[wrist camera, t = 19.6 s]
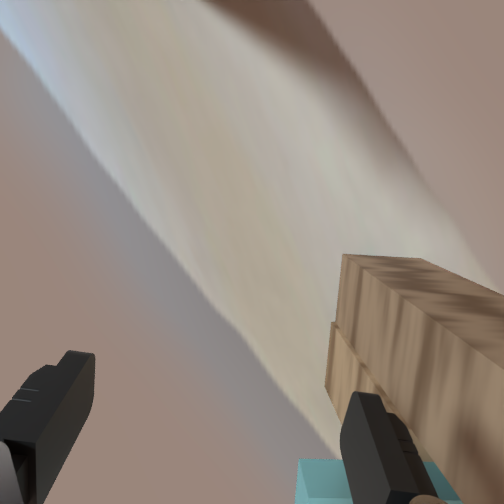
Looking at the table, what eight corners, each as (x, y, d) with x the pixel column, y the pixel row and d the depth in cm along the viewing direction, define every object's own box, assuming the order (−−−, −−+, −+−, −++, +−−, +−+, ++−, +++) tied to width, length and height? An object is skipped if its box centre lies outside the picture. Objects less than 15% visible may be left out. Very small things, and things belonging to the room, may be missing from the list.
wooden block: (324, 386, 51) (389, 533, 30) (331, 321, 49) (404, 429, 29) (407, 389, 51) (526, 535, 31) (415, 325, 50) (547, 433, 29)
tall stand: (335, 322, 49) (539, 610, 17) (342, 253, 48) (580, 425, 15) (411, 325, 50) (751, 611, 17) (420, 258, 48) (810, 432, 16)
